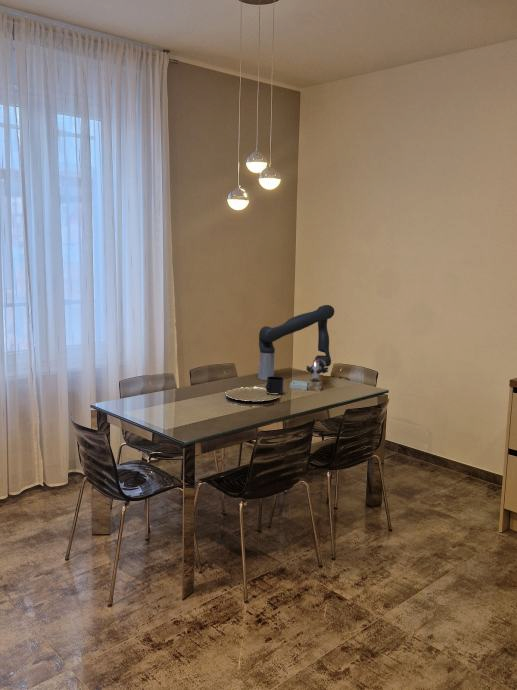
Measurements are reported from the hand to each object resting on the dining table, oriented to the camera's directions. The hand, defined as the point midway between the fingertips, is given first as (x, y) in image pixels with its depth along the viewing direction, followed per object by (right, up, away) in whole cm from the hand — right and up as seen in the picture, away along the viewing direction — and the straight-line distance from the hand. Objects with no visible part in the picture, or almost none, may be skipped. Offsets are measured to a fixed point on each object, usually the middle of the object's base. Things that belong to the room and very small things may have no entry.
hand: (314, 372), depth 369 cm
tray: (-9, -10, +7) cm, 15 cm away
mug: (-25, -12, -10) cm, 30 cm away
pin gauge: (0, -8, +4) cm, 9 cm away
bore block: (0, -10, +5) cm, 11 cm away
